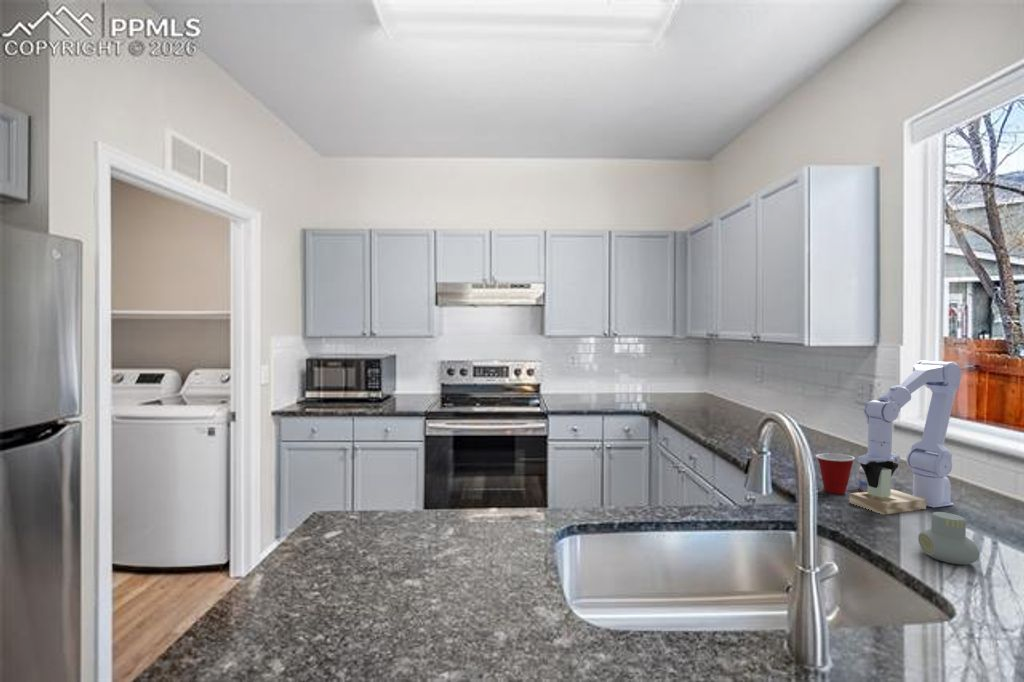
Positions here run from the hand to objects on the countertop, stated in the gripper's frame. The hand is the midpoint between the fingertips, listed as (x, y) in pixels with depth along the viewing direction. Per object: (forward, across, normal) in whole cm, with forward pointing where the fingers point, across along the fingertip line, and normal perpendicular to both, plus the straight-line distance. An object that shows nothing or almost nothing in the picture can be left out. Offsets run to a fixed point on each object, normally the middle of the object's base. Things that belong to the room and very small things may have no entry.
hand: (878, 486), depth 148 cm
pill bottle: (+6, +14, +13) cm, 20 cm away
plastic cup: (+6, +1, +15) cm, 16 cm away
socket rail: (+6, +4, 0) cm, 7 cm away
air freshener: (+7, -20, -30) cm, 37 cm away
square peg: (+2, 0, 0) cm, 3 cm away
